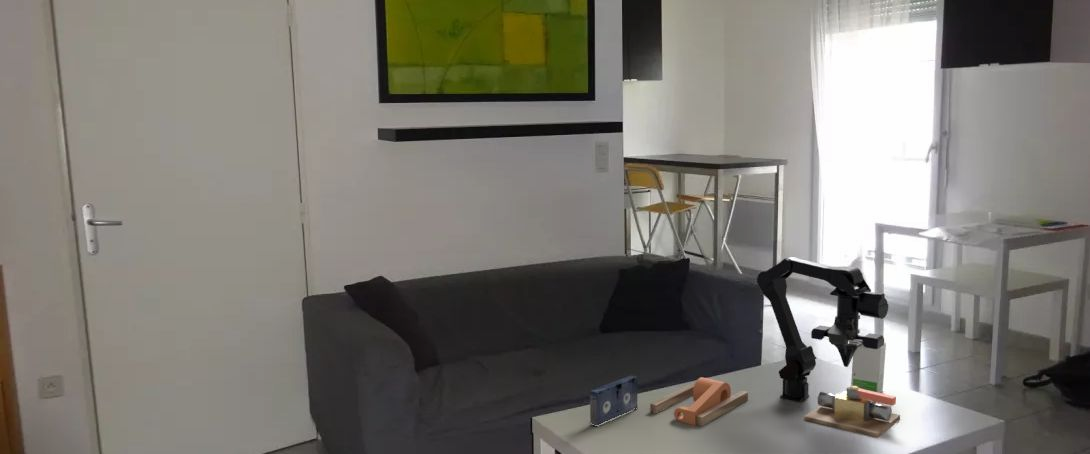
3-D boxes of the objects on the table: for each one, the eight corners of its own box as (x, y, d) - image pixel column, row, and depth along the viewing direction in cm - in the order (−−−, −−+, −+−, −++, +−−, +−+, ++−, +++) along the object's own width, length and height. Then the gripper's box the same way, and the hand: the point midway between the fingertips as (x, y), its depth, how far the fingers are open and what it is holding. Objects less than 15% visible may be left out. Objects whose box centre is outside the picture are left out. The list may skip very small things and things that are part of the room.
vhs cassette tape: (631, 407, 240) (631, 374, 238) (639, 410, 237) (639, 376, 236) (588, 425, 227) (588, 390, 225) (596, 427, 225) (596, 392, 223)
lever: (843, 396, 227) (844, 387, 226) (850, 392, 229) (850, 383, 229) (890, 407, 218) (891, 398, 217) (897, 403, 220) (897, 394, 220)
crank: (706, 400, 245) (707, 374, 244) (730, 405, 240) (730, 379, 239) (670, 419, 230) (669, 392, 229) (694, 425, 225) (694, 398, 224)
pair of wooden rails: (650, 412, 235) (650, 403, 235) (697, 388, 254) (697, 380, 254) (702, 426, 224) (702, 417, 224) (747, 400, 243) (748, 391, 243)
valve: (815, 410, 231) (815, 393, 230) (825, 403, 236) (825, 386, 236) (884, 426, 219) (884, 408, 218) (893, 418, 224) (893, 401, 223)
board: (804, 419, 227) (804, 416, 227) (829, 402, 240) (829, 399, 240) (877, 437, 214) (877, 433, 214) (899, 418, 227) (900, 415, 226)
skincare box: (850, 392, 248) (851, 342, 246) (855, 386, 254) (857, 337, 252) (879, 397, 244) (881, 346, 241) (884, 390, 249) (886, 340, 247)
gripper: (803, 313, 229) (802, 367, 232) (871, 323, 217) (869, 380, 219) (820, 305, 238) (818, 358, 240) (885, 315, 225) (883, 370, 227)
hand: (846, 366), depth 231 cm, fingers closed
